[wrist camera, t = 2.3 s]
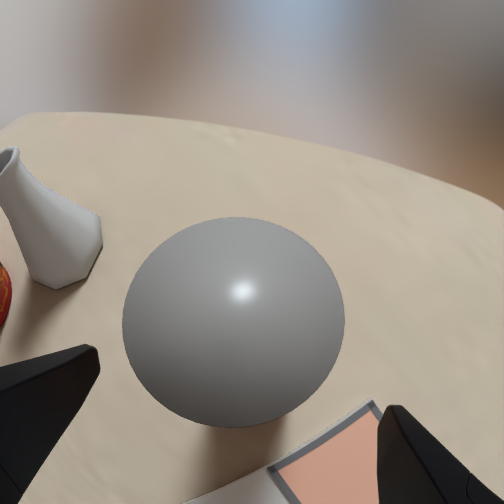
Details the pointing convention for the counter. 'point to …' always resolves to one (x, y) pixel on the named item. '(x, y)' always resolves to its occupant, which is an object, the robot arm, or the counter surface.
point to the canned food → (4, 293)
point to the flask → (47, 225)
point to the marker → (233, 322)
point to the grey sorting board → (316, 468)
